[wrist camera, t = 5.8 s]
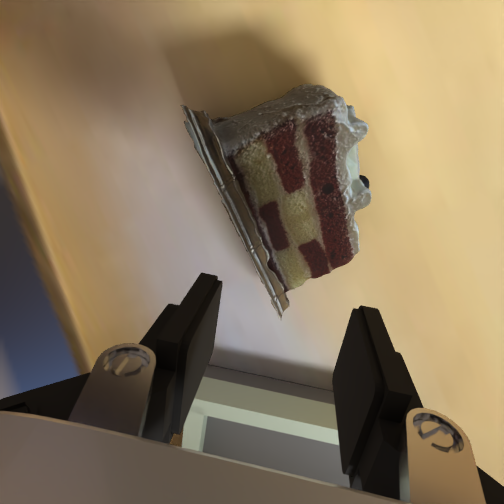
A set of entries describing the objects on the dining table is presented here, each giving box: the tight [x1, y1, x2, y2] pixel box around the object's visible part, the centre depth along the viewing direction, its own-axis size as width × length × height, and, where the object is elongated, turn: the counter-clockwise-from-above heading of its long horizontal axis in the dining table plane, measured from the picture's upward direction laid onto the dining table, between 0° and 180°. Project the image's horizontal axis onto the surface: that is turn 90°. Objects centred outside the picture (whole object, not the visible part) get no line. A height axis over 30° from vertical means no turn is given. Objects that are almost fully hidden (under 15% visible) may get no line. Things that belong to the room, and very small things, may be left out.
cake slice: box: [181, 84, 371, 320], centre depth 17 cm, size 10×7×12 cm
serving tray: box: [182, 365, 350, 488], centre depth 25 cm, size 16×12×3 cm
